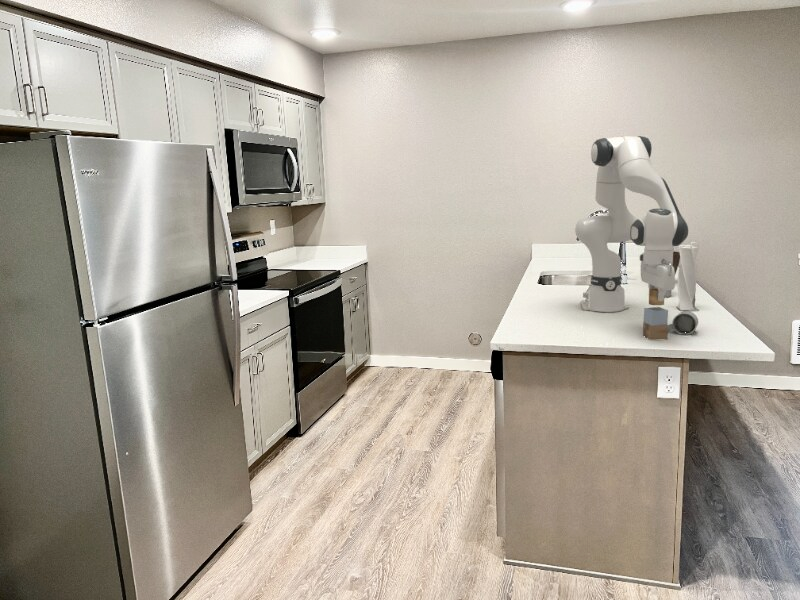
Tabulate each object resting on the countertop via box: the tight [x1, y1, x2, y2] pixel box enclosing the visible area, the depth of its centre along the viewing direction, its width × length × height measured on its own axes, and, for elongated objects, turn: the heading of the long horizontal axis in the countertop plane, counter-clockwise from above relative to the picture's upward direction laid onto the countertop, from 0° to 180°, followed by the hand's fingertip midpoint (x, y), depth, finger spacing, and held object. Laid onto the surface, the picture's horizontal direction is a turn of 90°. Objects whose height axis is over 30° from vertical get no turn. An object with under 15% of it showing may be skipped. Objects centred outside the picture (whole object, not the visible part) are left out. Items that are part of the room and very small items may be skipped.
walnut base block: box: [642, 321, 669, 340], centre depth 204 cm, size 6×6×5 cm
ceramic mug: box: [667, 311, 699, 336], centre depth 209 cm, size 11×8×8 cm
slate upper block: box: [643, 306, 669, 326], centre depth 203 cm, size 6×6×5 cm
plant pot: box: [673, 250, 681, 275], centre depth 304 cm, size 15×15×16 cm
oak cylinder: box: [648, 288, 665, 306], centre depth 201 cm, size 5×5×5 cm
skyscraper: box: [676, 241, 700, 311], centre depth 242 cm, size 8×8×28 cm
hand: (656, 298), depth 201 cm, fingers closed on oak cylinder, 5 cm apart
